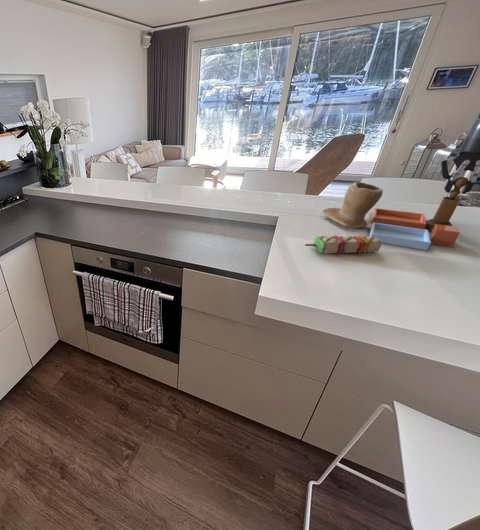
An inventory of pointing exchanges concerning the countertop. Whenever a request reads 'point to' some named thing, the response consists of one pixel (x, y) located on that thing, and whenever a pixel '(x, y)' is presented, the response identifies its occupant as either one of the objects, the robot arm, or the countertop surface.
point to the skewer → (346, 244)
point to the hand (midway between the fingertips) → (455, 192)
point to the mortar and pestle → (447, 206)
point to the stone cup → (355, 205)
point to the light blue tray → (401, 235)
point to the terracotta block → (444, 235)
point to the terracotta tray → (399, 218)
